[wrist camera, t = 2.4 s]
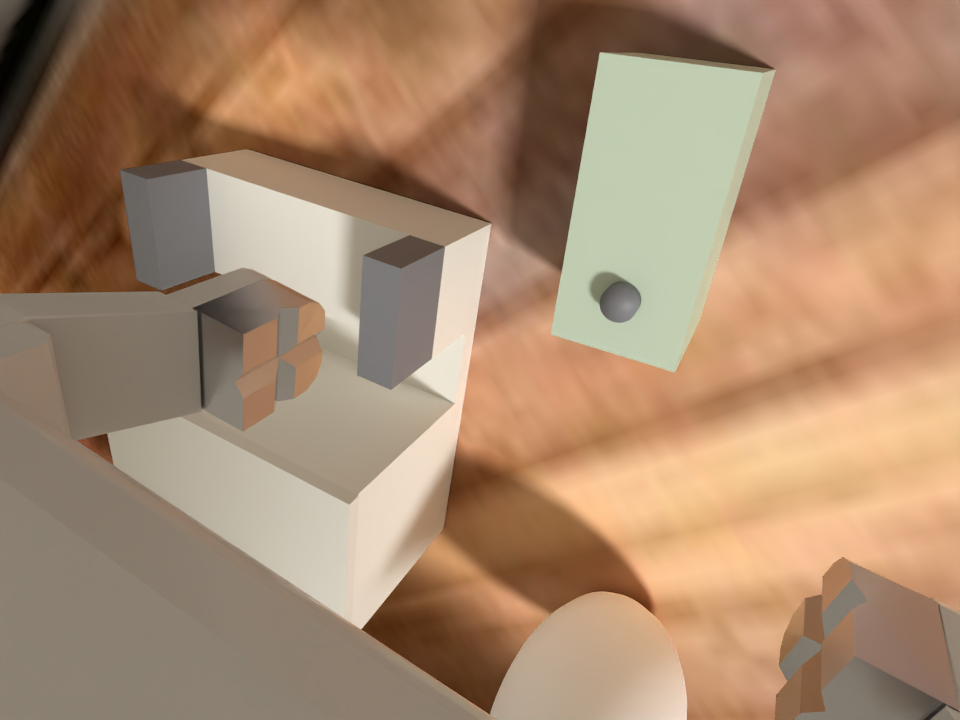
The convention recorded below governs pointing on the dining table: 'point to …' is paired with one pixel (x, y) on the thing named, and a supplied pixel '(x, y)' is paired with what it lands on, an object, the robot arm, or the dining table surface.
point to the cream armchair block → (342, 375)
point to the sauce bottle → (595, 666)
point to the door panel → (655, 200)
